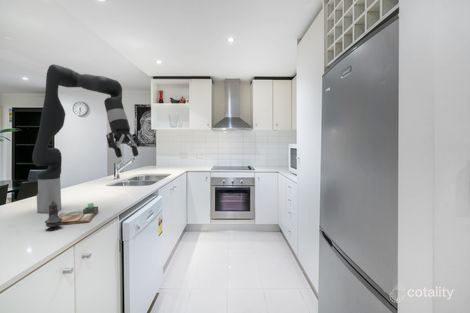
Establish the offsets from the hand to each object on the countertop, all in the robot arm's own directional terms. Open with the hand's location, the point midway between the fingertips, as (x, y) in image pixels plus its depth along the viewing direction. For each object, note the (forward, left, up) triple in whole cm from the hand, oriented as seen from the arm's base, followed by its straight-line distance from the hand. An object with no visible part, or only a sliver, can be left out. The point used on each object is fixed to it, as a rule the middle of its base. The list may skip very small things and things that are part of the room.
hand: (128, 156), depth 100 cm
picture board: (-25, +19, -30) cm, 44 cm away
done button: (-20, +24, -28) cm, 42 cm away
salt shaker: (-29, +6, -31) cm, 43 cm away
